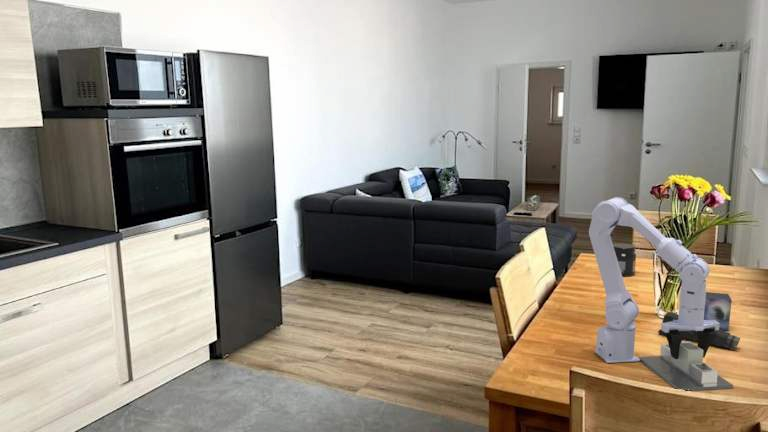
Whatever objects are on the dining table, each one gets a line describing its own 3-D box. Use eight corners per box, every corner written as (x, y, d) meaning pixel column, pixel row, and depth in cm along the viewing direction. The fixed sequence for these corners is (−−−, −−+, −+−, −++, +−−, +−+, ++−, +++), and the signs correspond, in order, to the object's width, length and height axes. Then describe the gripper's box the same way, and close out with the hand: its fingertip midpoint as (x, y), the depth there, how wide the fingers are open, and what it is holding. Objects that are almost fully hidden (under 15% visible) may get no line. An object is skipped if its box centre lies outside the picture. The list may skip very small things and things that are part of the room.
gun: (658, 330, 183) (672, 303, 179) (725, 365, 173) (741, 337, 169) (654, 334, 180) (668, 306, 176) (722, 371, 169) (739, 342, 166)
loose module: (686, 373, 150) (688, 350, 149) (673, 363, 156) (674, 341, 155) (701, 372, 150) (703, 349, 149) (687, 362, 156) (689, 340, 155)
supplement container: (637, 272, 250) (638, 244, 248) (632, 278, 242) (634, 249, 239) (610, 269, 256) (612, 242, 254) (605, 275, 247) (607, 246, 245)
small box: (690, 328, 185) (693, 296, 183) (688, 321, 191) (690, 290, 190) (729, 332, 182) (732, 299, 180) (725, 325, 188) (728, 293, 186)
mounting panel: (678, 391, 143) (680, 373, 143) (637, 359, 162) (639, 343, 161) (733, 388, 145) (734, 370, 144) (686, 357, 163) (687, 341, 163)
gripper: (674, 312, 146) (670, 364, 148) (729, 310, 147) (724, 361, 149) (658, 303, 153) (654, 353, 155) (711, 301, 154) (706, 350, 156)
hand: (687, 356), depth 153 cm, fingers open, 7 cm apart
